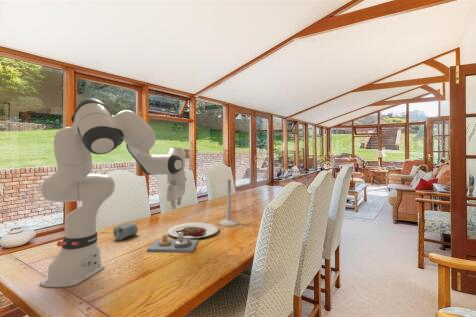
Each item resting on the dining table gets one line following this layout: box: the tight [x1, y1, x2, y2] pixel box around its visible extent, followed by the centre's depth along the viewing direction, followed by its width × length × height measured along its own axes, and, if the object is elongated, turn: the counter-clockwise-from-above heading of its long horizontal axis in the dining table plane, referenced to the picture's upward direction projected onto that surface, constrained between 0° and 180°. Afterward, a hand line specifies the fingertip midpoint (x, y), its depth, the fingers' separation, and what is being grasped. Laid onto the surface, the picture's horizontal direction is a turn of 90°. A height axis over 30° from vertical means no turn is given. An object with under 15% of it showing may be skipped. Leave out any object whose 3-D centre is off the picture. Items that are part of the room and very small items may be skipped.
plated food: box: [167, 222, 219, 240], centre depth 157 cm, size 30×30×3 cm
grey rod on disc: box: [219, 178, 240, 227], centre depth 174 cm, size 13×13×30 cm
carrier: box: [146, 233, 199, 253], centre depth 133 cm, size 14×22×6 cm, turn 88°
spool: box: [112, 221, 138, 241], centre depth 147 cm, size 14×10×10 cm
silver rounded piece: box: [173, 232, 188, 246], centre depth 133 cm, size 7×7×6 cm
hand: (176, 206), depth 133 cm, fingers open, 8 cm apart
